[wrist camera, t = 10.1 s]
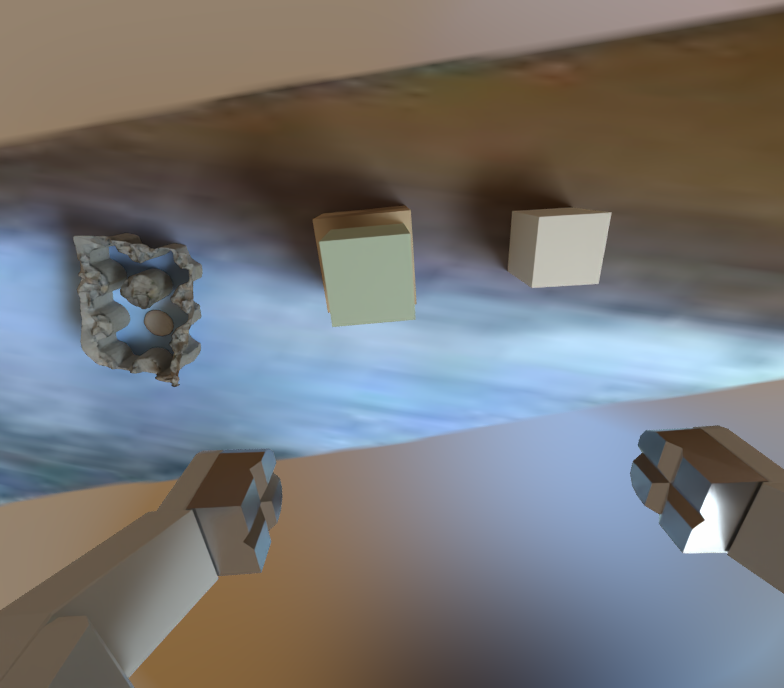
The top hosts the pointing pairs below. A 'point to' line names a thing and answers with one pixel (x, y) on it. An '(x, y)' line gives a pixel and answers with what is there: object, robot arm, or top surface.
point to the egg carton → (141, 291)
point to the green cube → (368, 274)
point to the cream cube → (557, 246)
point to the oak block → (361, 220)
